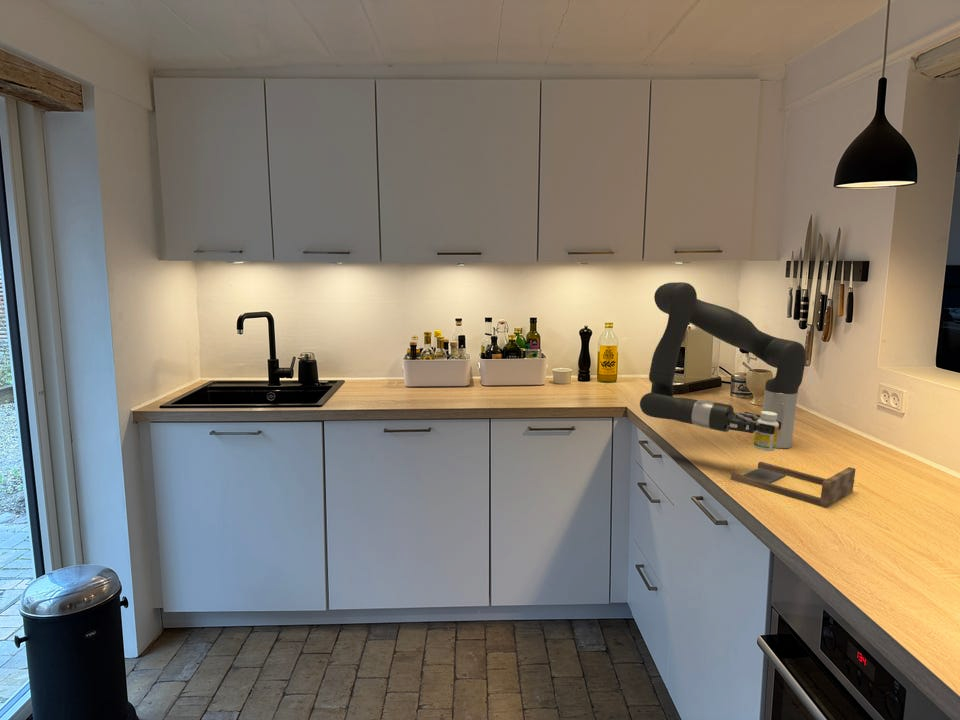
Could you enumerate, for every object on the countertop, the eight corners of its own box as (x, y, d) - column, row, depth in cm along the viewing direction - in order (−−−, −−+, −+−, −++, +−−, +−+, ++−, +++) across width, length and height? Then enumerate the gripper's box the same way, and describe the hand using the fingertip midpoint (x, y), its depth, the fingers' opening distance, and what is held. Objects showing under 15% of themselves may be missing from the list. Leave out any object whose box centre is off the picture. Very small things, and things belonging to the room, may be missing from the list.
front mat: (759, 469, 171) (759, 467, 171) (785, 476, 166) (785, 474, 166) (738, 478, 163) (739, 476, 163) (765, 485, 158) (765, 484, 158)
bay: (760, 466, 174) (762, 445, 173) (852, 491, 156) (855, 468, 155) (730, 479, 163) (732, 457, 162) (826, 507, 145) (829, 483, 144)
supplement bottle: (760, 451, 161) (764, 415, 159) (749, 444, 166) (753, 410, 164) (779, 451, 161) (784, 415, 159) (768, 445, 166) (773, 410, 165)
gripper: (704, 406, 165) (772, 419, 155) (722, 398, 176) (786, 409, 166) (701, 433, 166) (768, 447, 156) (719, 423, 177) (783, 436, 167)
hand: (777, 428), depth 161 cm, fingers closed on supplement bottle, 5 cm apart
